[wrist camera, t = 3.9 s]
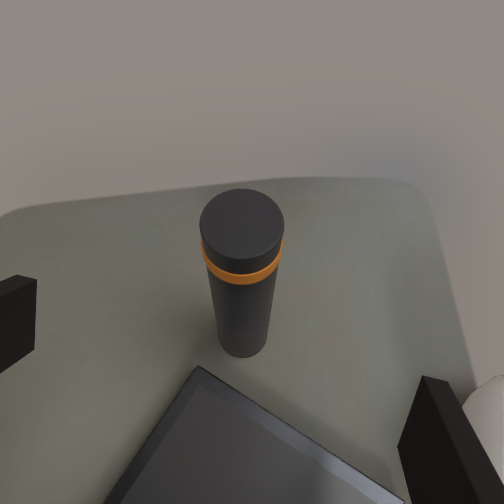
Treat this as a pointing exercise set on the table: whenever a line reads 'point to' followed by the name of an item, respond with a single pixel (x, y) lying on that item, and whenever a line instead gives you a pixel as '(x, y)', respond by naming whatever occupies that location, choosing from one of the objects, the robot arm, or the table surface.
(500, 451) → the white sphere
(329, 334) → the table surface
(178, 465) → the tablet
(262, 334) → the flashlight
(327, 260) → the table surface
